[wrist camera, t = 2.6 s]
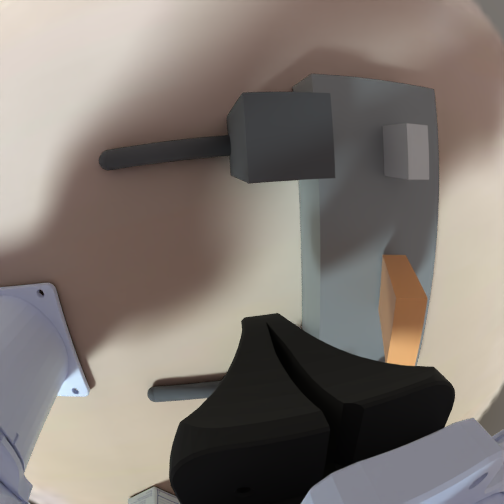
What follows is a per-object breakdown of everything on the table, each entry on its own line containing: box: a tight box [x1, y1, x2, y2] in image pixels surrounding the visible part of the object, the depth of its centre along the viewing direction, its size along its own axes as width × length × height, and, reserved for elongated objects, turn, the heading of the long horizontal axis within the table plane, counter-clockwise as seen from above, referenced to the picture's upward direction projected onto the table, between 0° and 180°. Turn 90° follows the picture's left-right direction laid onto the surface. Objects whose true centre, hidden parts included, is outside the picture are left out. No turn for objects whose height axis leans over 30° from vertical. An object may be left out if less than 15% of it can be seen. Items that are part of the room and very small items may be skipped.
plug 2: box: [148, 381, 221, 402], centre depth 17 cm, size 10×3×6 cm, turn 94°
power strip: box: [293, 74, 439, 366], centre depth 16 cm, size 7×20×5 cm, turn 4°
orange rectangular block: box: [378, 255, 428, 366], centre depth 13 cm, size 1×3×5 cm, turn 4°
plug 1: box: [99, 92, 335, 183], centre depth 13 cm, size 10×3×6 cm, turn 94°
